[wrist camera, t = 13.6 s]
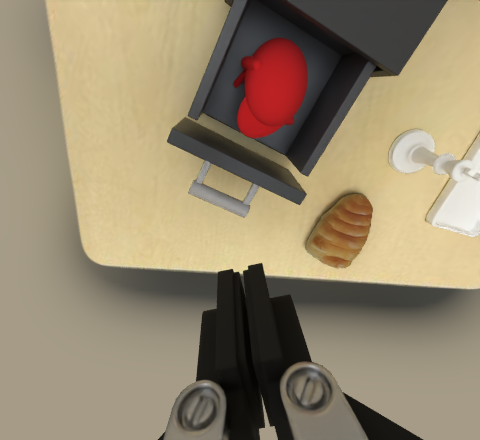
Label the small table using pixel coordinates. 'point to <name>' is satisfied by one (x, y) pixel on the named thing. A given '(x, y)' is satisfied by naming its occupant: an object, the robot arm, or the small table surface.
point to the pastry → (341, 231)
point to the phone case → (460, 201)
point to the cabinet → (373, 26)
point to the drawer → (230, 98)
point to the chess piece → (427, 157)
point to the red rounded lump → (271, 87)
